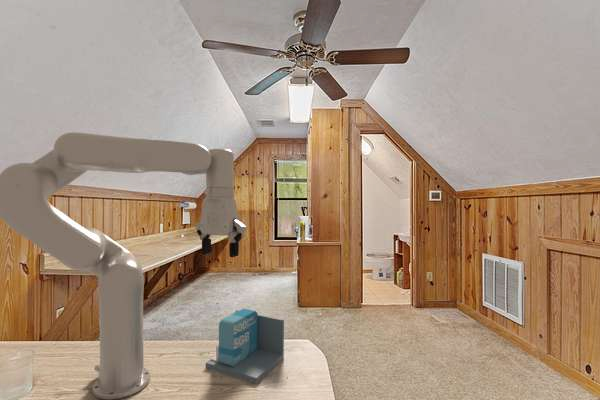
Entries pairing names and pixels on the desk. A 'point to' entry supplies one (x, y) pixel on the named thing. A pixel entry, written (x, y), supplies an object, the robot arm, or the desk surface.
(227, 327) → the data package
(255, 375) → the l-shaped stand
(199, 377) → the desk surface
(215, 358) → the bookend
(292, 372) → the desk surface
